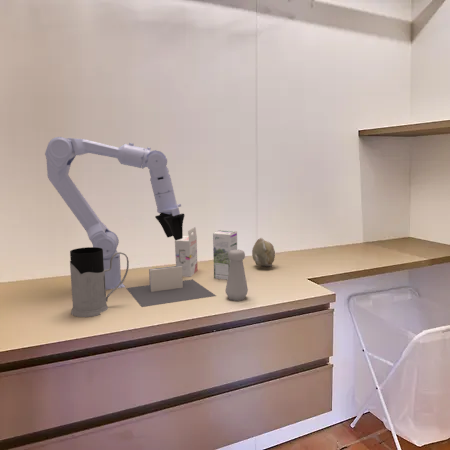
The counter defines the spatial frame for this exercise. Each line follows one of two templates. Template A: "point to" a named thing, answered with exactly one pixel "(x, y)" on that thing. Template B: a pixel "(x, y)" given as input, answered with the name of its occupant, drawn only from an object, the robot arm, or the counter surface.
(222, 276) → the syrup box
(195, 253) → the ink cartridge box
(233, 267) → the salt shaker
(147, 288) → the mat
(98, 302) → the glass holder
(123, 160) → the robot arm
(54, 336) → the counter surface
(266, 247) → the rock
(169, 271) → the block
